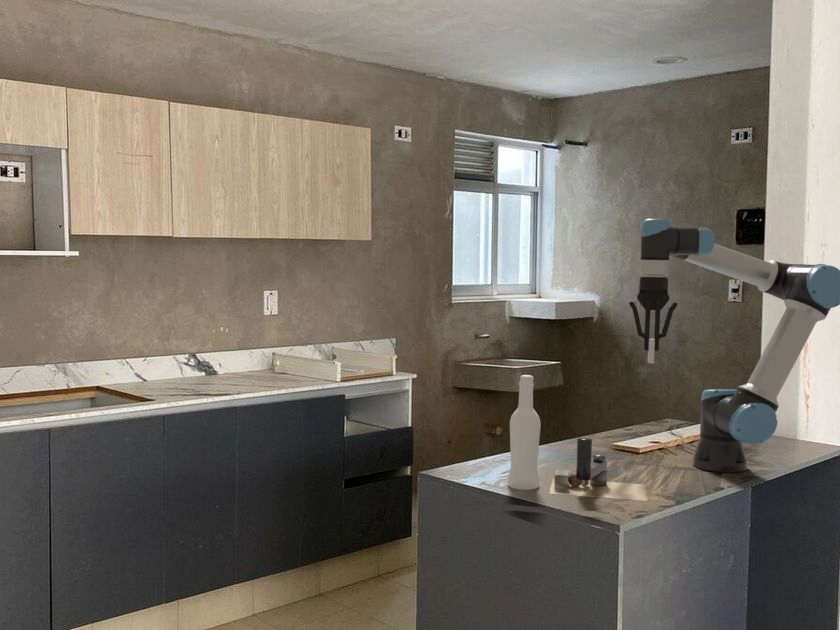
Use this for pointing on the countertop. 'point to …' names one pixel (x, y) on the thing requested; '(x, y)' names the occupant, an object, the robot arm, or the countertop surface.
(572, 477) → the brown ball
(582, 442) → the lever
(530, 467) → the bottle
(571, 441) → the countertop surface
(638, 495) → the board
